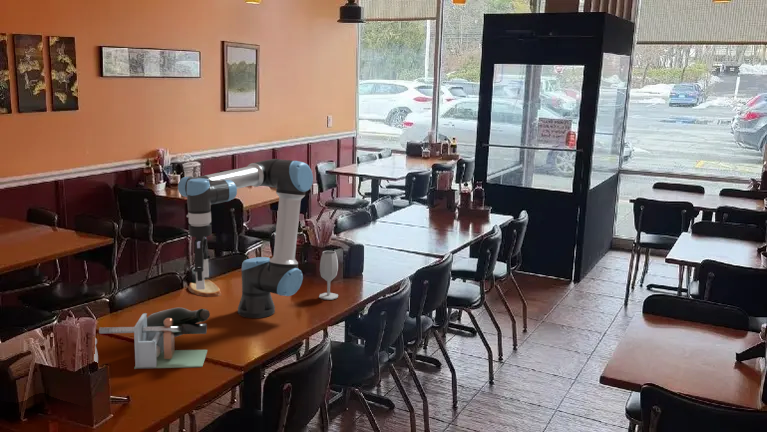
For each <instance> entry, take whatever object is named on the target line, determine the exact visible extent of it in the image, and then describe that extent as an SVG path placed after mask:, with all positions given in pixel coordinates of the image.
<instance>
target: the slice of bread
mask: <svg viewBox="0 0 767 432" xmlns="http://www.w3.org/2000/svg"><path fill="white" fill-rule="evenodd" d="M204 281H205V289H200V290H196V282H189V285H188V286H187V289H188V291H189V292H191V293H192V294H193V295H194V294H195V295H197V296H201V297H206V298H215V297H220V296H222V292H221V289H220V287H219V286H218V284H216V283H214V282H213V281H211V280H210V279H208V278H207V279H204Z"/></svg>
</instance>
